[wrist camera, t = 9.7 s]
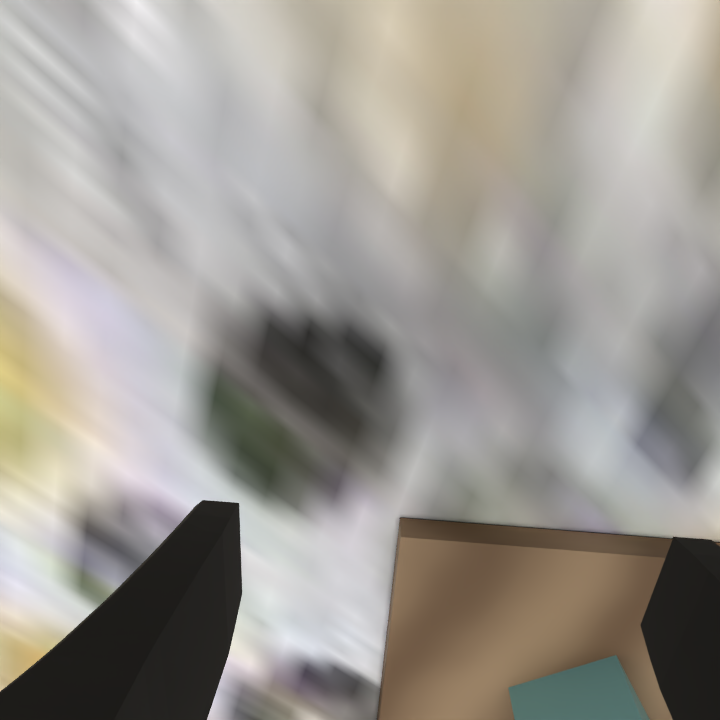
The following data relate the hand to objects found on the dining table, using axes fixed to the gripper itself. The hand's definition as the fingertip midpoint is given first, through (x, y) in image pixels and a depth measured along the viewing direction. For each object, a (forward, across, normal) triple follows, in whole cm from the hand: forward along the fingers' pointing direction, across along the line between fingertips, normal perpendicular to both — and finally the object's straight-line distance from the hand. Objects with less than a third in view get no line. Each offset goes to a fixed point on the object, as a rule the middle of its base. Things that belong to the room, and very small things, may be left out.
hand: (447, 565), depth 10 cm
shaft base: (+9, -8, +15) cm, 19 cm away
